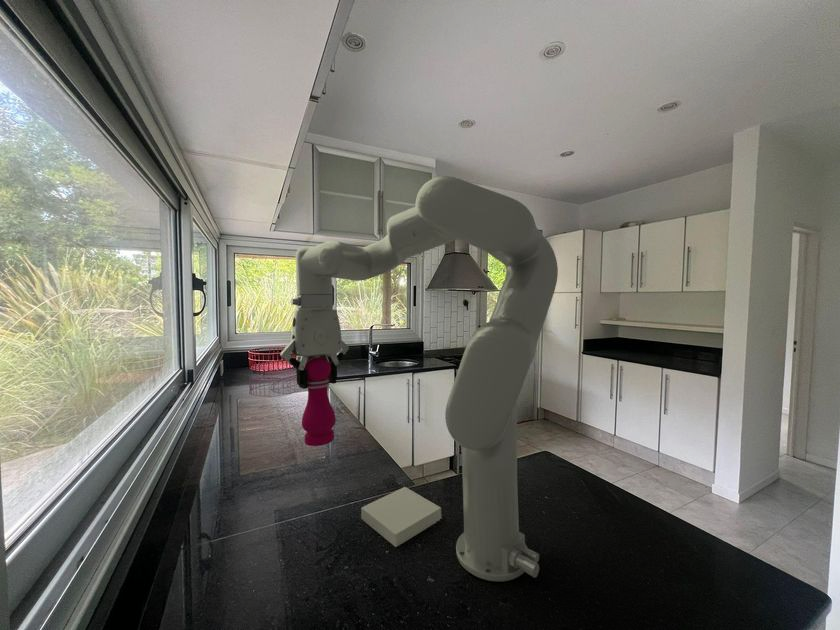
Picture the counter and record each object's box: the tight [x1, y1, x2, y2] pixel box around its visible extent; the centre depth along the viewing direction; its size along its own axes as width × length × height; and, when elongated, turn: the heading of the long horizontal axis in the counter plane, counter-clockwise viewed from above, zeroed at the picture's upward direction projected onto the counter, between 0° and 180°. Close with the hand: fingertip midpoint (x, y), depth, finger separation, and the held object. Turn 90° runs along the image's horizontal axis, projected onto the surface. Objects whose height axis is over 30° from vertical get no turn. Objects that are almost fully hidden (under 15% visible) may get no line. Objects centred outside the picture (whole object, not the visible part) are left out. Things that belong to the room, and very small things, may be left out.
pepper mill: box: [301, 355, 337, 447], centre depth 73 cm, size 7×7×20 cm
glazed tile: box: [360, 486, 442, 548], centre depth 70 cm, size 3×12×12 cm
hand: (317, 384), depth 73 cm, fingers closed on pepper mill, 6 cm apart
